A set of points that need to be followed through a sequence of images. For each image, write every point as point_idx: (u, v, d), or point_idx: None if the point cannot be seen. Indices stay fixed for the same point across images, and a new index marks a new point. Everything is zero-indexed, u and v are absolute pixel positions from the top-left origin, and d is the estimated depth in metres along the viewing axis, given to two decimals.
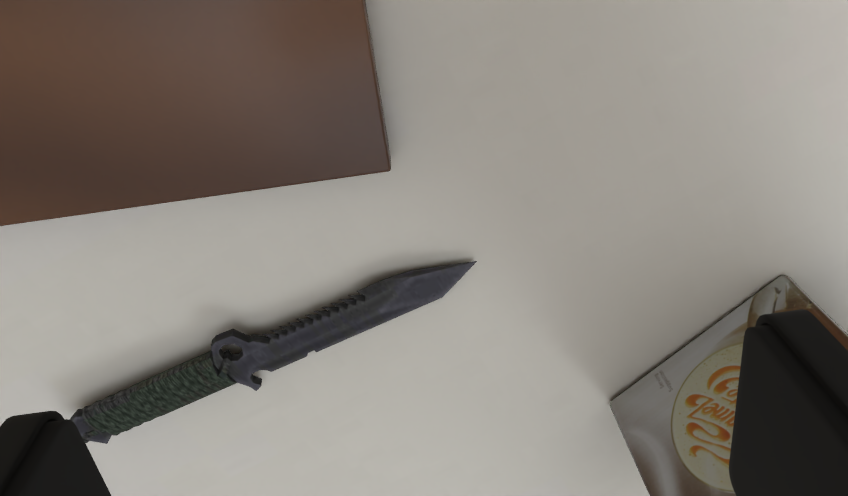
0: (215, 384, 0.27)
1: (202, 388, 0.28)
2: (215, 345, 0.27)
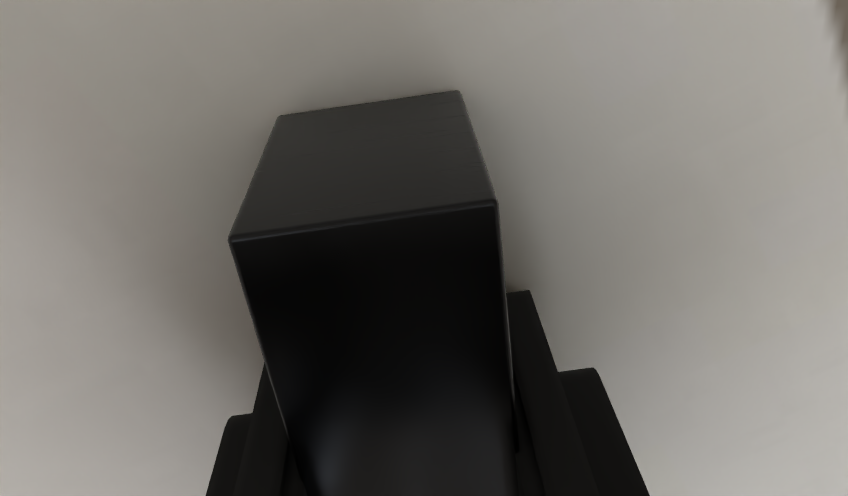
0: None
1: None
2: None
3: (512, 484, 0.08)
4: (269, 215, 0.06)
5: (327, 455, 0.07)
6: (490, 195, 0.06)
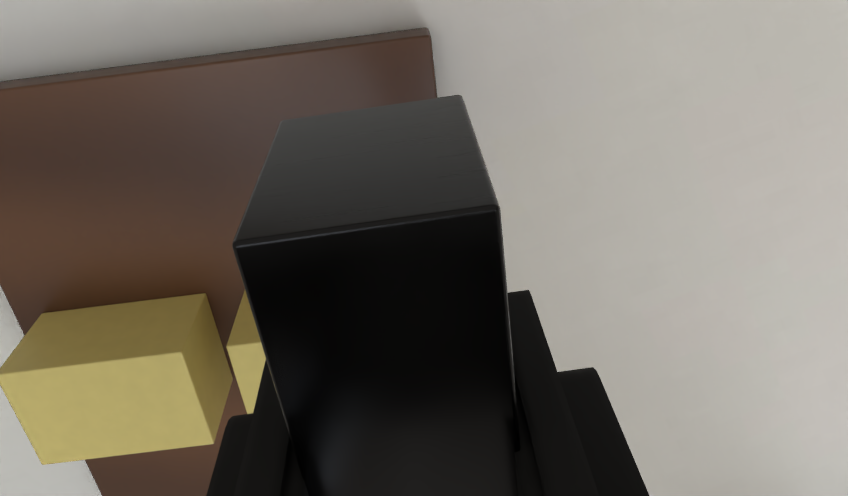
0: None
1: None
2: None
3: (514, 487, 0.08)
4: (272, 220, 0.06)
5: (330, 458, 0.07)
6: (492, 201, 0.06)
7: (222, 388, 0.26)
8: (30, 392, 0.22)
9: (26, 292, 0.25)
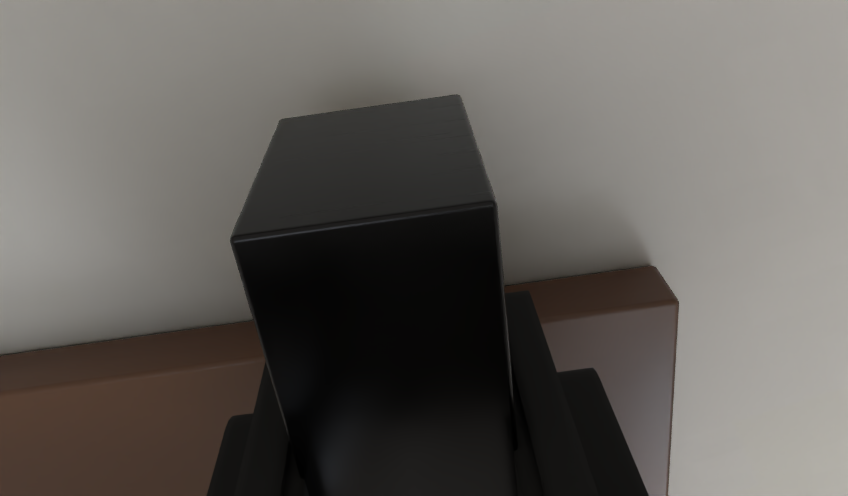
0: None
1: None
2: None
3: (511, 485, 0.08)
4: (271, 216, 0.06)
5: (327, 455, 0.07)
6: (489, 197, 0.06)
7: None
8: None
9: None
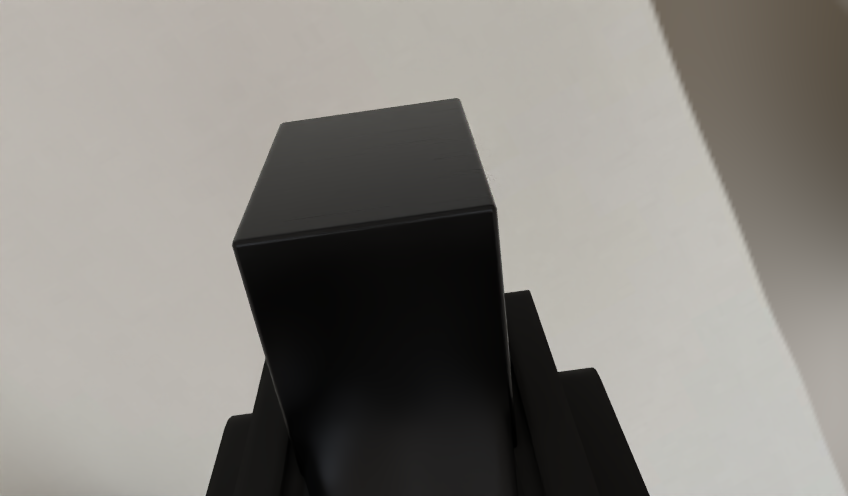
0: None
1: None
2: None
3: (511, 486, 0.08)
4: (272, 220, 0.07)
5: (329, 457, 0.07)
6: (489, 201, 0.06)
7: None
8: None
9: None
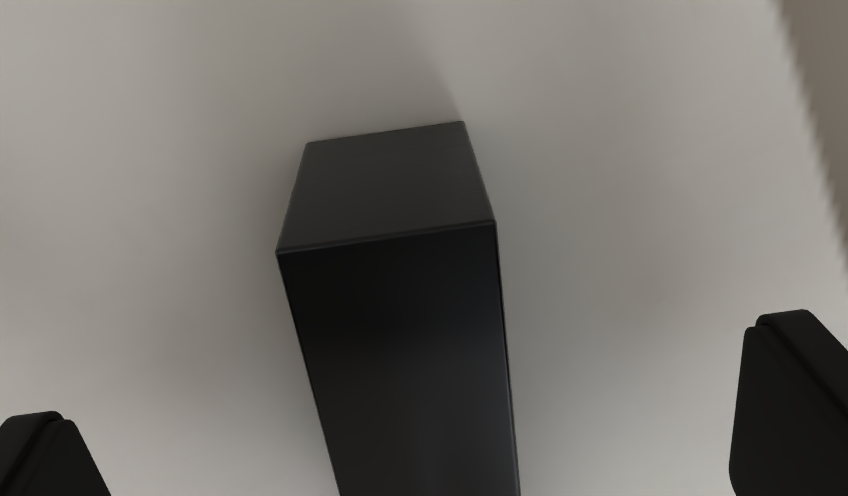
0: None
1: None
2: None
3: (509, 459, 0.09)
4: (308, 231, 0.08)
5: (352, 433, 0.09)
6: (490, 216, 0.07)
7: None
8: None
9: None
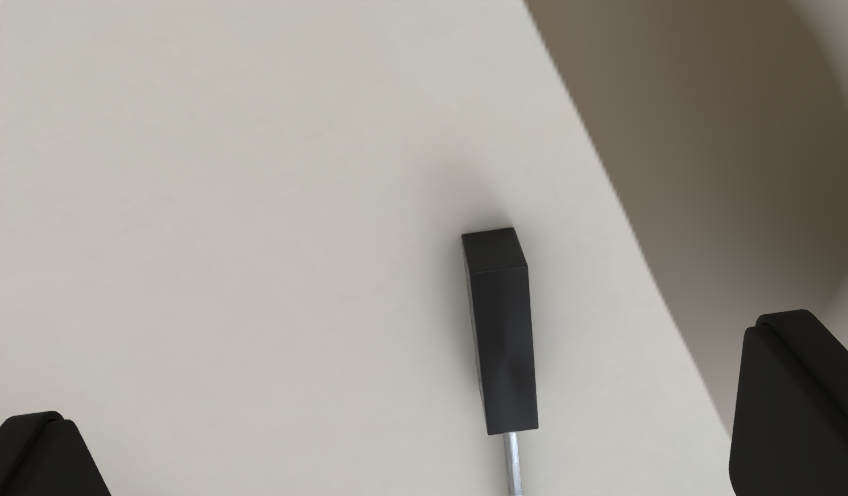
0: None
1: None
2: None
3: (529, 334, 0.30)
4: (476, 267, 0.29)
5: (484, 325, 0.30)
6: (525, 263, 0.28)
7: None
8: None
9: None
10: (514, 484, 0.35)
